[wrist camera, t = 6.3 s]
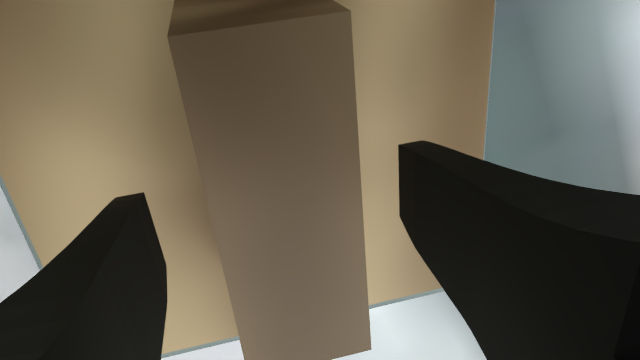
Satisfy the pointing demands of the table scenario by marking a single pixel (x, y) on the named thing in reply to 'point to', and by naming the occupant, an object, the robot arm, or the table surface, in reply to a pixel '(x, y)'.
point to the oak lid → (243, 147)
